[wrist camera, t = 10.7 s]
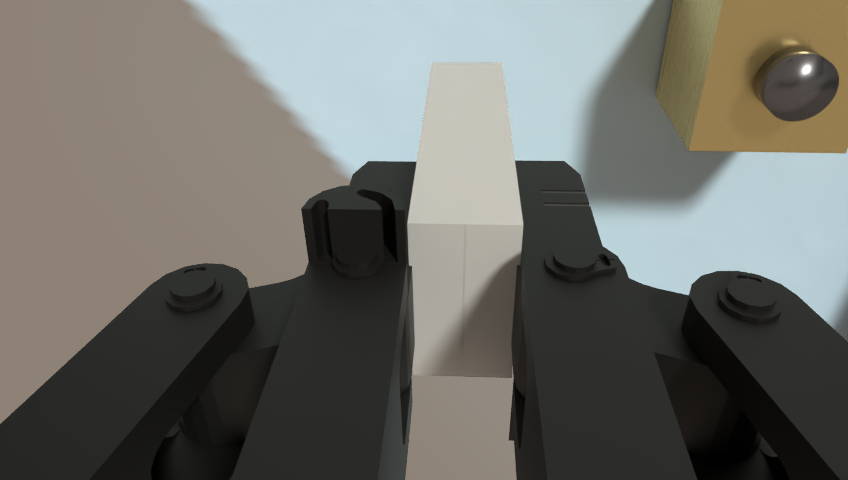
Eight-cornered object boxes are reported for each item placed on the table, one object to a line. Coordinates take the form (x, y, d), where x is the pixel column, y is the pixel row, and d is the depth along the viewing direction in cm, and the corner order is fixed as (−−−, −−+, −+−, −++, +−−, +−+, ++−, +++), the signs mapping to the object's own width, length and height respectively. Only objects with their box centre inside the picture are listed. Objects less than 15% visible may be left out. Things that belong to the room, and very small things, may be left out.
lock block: (827, -40, 18) (926, 2, 14) (786, 96, 20) (860, 167, 16) (680, -39, 18) (735, 2, 14) (655, 95, 20) (697, 164, 17)
